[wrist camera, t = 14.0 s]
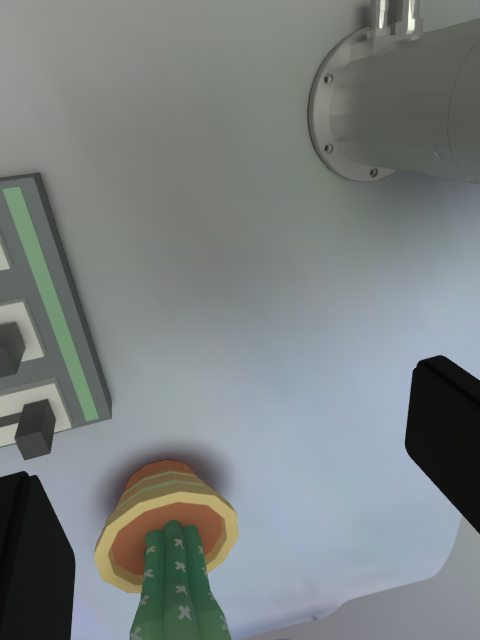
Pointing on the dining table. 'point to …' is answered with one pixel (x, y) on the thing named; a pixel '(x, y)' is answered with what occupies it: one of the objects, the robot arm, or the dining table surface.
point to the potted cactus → (168, 552)
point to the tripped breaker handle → (10, 349)
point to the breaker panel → (43, 327)
